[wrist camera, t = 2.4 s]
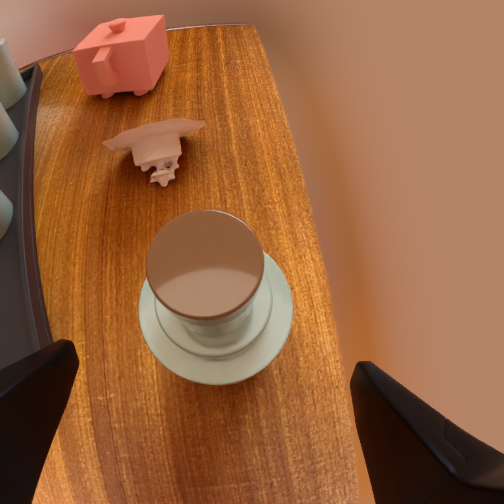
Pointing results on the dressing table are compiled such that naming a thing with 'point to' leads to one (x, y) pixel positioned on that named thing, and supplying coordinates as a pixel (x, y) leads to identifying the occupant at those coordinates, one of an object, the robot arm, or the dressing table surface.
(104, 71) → the pink cube teapot
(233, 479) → the dressing table surface
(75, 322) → the dressing table surface
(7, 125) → the bottle middle
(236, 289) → the bottle
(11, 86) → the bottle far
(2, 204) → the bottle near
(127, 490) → the dressing table surface
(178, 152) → the pale pink ornate lid
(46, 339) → the tray
